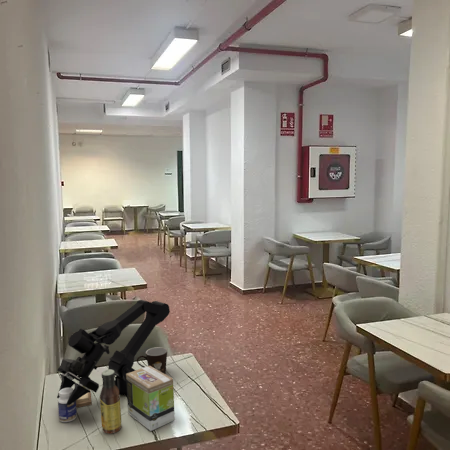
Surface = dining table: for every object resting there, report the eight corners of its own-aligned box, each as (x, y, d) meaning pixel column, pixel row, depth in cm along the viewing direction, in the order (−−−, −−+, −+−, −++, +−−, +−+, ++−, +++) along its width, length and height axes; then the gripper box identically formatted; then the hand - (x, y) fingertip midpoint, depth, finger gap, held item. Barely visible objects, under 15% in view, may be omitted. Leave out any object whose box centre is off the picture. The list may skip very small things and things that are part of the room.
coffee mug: (171, 370, 182) (170, 347, 181) (163, 380, 174) (162, 356, 173) (145, 368, 185) (144, 346, 184) (136, 378, 176) (135, 354, 175)
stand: (90, 391, 166) (90, 385, 166) (91, 404, 157) (91, 398, 157) (62, 397, 163) (62, 391, 163) (62, 410, 154) (61, 404, 153)
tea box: (176, 420, 146) (174, 378, 144) (150, 432, 139) (147, 388, 137) (152, 403, 157) (150, 363, 155) (127, 413, 150) (124, 373, 149)
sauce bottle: (104, 424, 144) (100, 367, 142) (123, 423, 145) (119, 366, 142) (100, 436, 138) (95, 376, 135) (120, 434, 138) (116, 375, 136)
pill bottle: (71, 423, 145) (68, 395, 144) (55, 422, 147) (53, 394, 145) (80, 414, 151) (78, 387, 150) (65, 413, 152) (63, 385, 151)
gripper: (60, 342, 155) (32, 383, 148) (88, 356, 143) (58, 401, 136) (82, 356, 162) (56, 396, 155) (110, 370, 149) (83, 414, 143)
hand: (62, 401), depth 147 cm, fingers open, 6 cm apart
